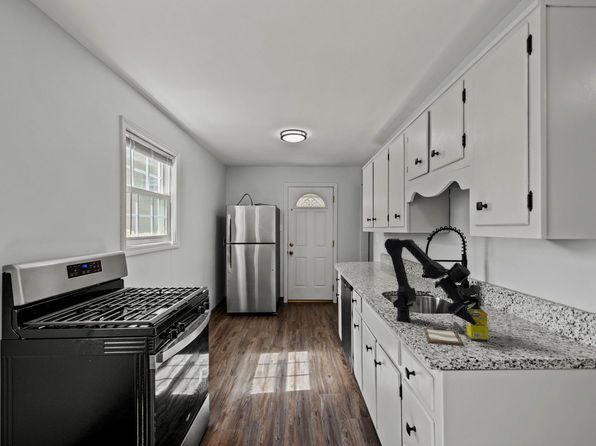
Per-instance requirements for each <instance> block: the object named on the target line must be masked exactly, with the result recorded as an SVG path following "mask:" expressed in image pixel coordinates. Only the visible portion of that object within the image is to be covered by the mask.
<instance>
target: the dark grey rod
mask: <svg viewBox="0 0 596 446" xmlns="http://www.w3.org/2000/svg"><path fill="white" fill-rule="evenodd" d="M452 324H453V326H454V328H455V329H456V331H457V333H458V335H463V334H464V330H463V329H462V327H461V326H460V325H459V323H458V322H457V321H453V322H452Z"/></svg>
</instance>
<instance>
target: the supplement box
mask: <svg viewBox="0 0 596 446" xmlns="http://www.w3.org/2000/svg"><path fill="white" fill-rule="evenodd" d="M467 309H468V308H467ZM468 312H469V313H470V315H471V316H472V318H473V319H474V320H475V322H476V325H473V324H471V323H469V322H467V321H466V337H468V339H469V340H470V341H474V342H478V341H479V342H488V341H489V340H488V339H489V338H488V313H487V312H486V311H484V310H483V309H481V310H478V309H468Z"/></svg>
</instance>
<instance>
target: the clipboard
mask: <svg viewBox="0 0 596 446" xmlns="http://www.w3.org/2000/svg"><path fill="white" fill-rule="evenodd" d="M423 331H424V335H425V337H426V340H427V343H428V344H438V345H439V344H440V345H450V346H463V341H462V340H461V339H460V337H459V334H458V333H457V332H456V330H453V329H452V330H451V329H447V328H446V327H436V326H435V327H434V326H433V327H432V328H428V327H427V328H426V327H425V328H424V327H423Z"/></svg>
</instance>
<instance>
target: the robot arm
mask: <svg viewBox="0 0 596 446" xmlns="http://www.w3.org/2000/svg"><path fill="white" fill-rule="evenodd" d="M384 248H385V250H386V252H387V254H388V256H389V257H390V258H391V262H392V266H393V271H394V274H395V278H396V281H397V292H396V294H397V295H396V296H397V298H396V299H394V301H393V302H392V305H393V307H394V308H396V309H397V310H396V316H395V317H396V321H397V322H406V323H407V322H409V323H410V322H412V319H411V317H410V316H411V310H410V309H411V308H412V307H414V304H415V303H416V301H417V296H418V295H417V293H416V288H415V287H411V285H410V284H409V279H408V275H407V272H406V267H405V263H404V260H403V257H402V256H403V255H402V254H403V251H404V248H405V249H406V250H407V251H408V252H409V253H410V254H411V255H412V256H413V257H414V259H416V260H417V262H418V263H420V264H421V265H422V267H423V270H424V272H425V274H426V275H427V277H428V278H430V279H432V280H437V281H435V282H434V288H435V289H438V288H441V289H442V290H443V292H444V293H445V294H446V298H447V299H450V300H451V301H452V303H450V305H448V306H447V307H446V311H447V312H448V313H449V316H451V315H453V316H456V317H458V318H460V319H462V320H464V321H465V322H466V323H467V322H469V323H471V324H473V325H476V322H475V320H474V319H473V318H472V316H471V315H470V313H469V312H468V309H478V310H482V307H481V303H482V300H483V299H482V297H481V296H480V294H481V292H480V289H481V288H480V287H479V286H478V285H477V284H475V283H474V284H470V285H469V287H467V288H463V287H460V286H458V284H461V283H462V282H464V280H466V279H467V278H468V277H470V275H471V271H470V270H469V268H467V267H466V266H464V265H462V264H461V263H460V262H455V263H454V264H453V265H452V266H451V267H450V268H446V267H444V265H443V264H441V263H439V262H438V261H435V260H433V259H431V257H429V255H428V254H427V253H426V252H425V251H424V250H423V249H421V247H419V245H418V244H417V243H416V242H415V241H414V239H411V238H410V239H408V238H406V239H400V238H397V237H395V238H393V237H392V238H387V239H386V240H385V241H384ZM410 307H411V308H410Z"/></svg>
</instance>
